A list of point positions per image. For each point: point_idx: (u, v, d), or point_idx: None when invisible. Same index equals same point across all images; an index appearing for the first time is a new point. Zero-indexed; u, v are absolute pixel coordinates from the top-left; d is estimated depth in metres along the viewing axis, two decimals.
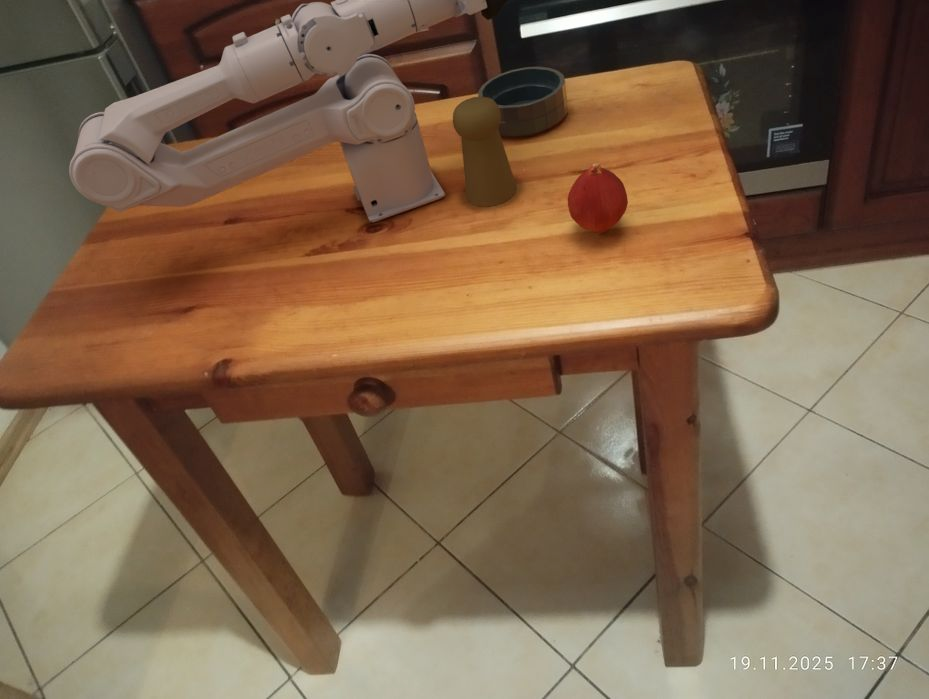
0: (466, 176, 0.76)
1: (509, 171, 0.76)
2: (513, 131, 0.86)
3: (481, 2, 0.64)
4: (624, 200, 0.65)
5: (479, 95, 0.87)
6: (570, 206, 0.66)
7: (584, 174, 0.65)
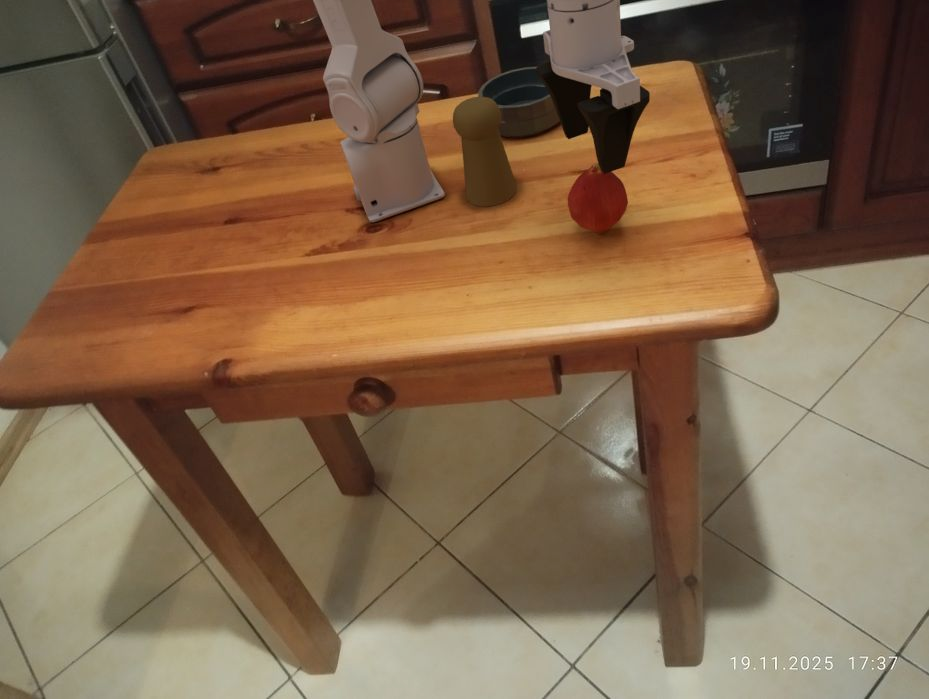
0: (466, 176, 0.76)
1: (509, 171, 0.76)
2: (513, 131, 0.86)
3: (625, 101, 0.53)
4: (624, 200, 0.65)
5: (479, 95, 0.87)
6: (570, 206, 0.66)
7: (584, 174, 0.65)
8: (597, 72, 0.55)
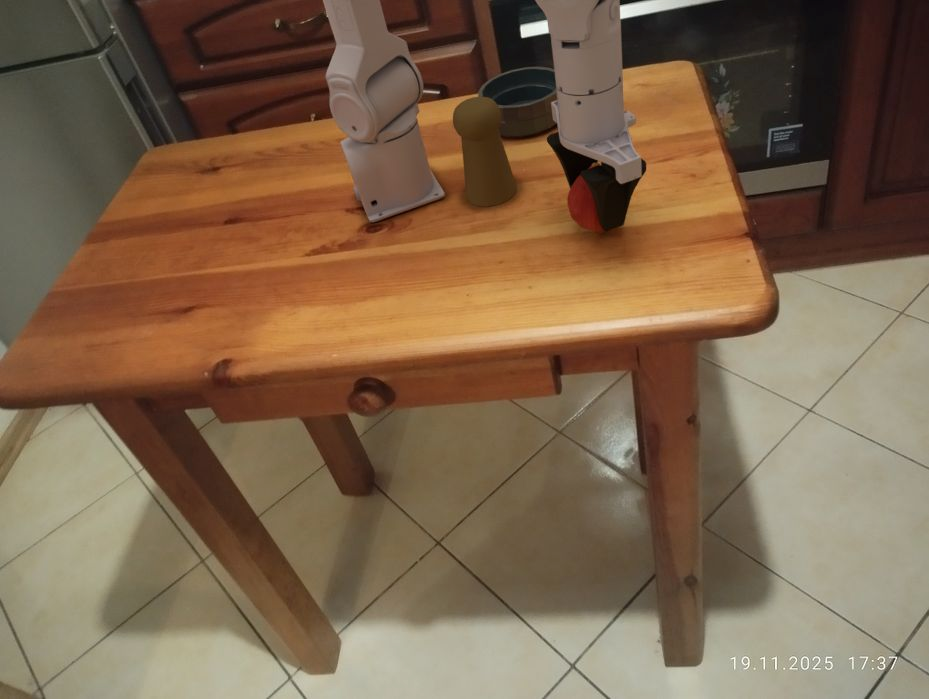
0: (466, 176, 0.76)
1: (509, 171, 0.76)
2: (513, 131, 0.86)
3: (627, 177, 0.57)
4: None
5: (479, 95, 0.87)
6: (570, 206, 0.67)
7: None
8: (602, 147, 0.60)
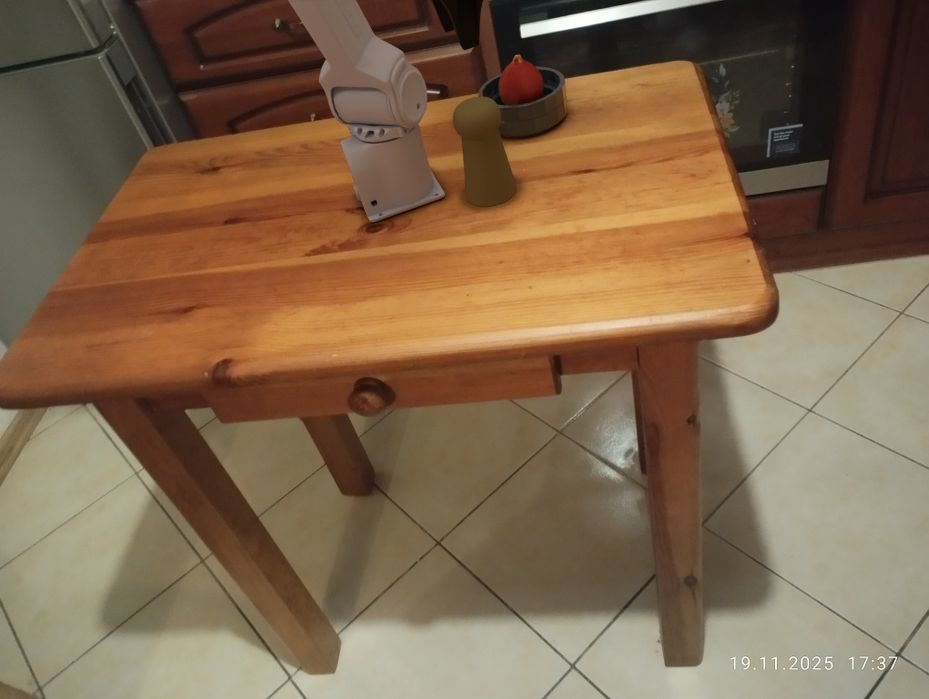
0: (466, 176, 0.76)
1: (509, 171, 0.76)
2: (513, 131, 0.86)
3: None
4: (540, 84, 0.85)
5: (479, 95, 0.87)
6: (500, 90, 0.87)
7: (509, 64, 0.85)
8: None
